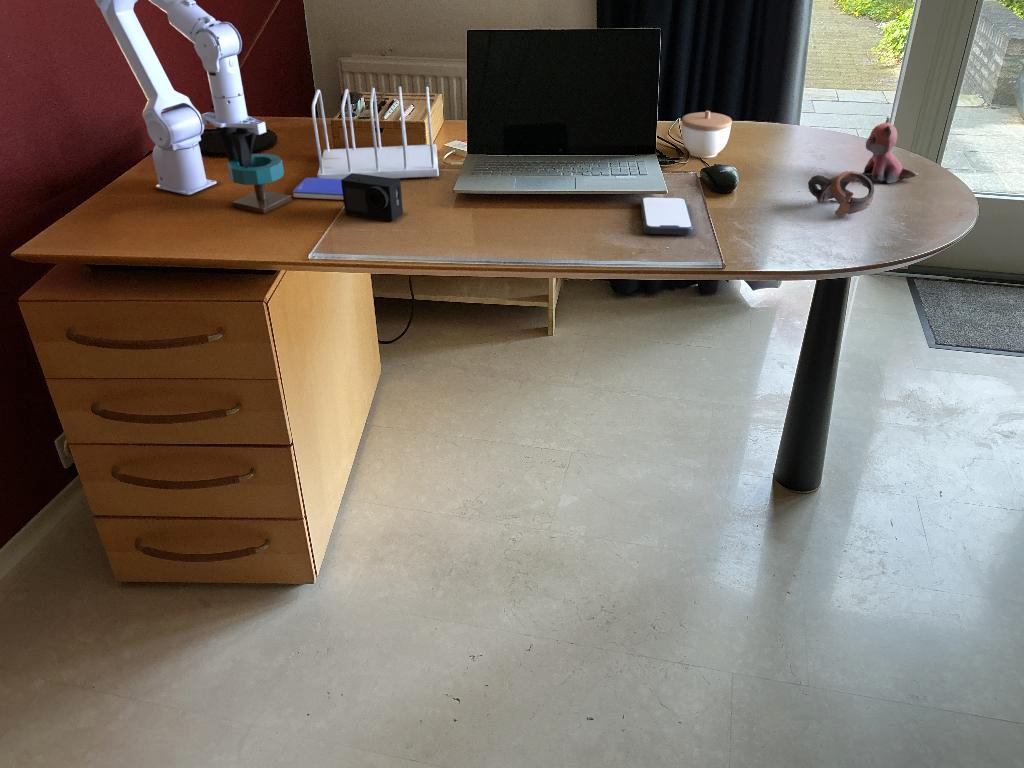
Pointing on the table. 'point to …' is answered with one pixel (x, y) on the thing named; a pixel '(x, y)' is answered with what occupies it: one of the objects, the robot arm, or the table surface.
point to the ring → (257, 170)
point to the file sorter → (375, 150)
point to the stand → (261, 200)
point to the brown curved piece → (841, 191)
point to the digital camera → (372, 197)
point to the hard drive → (319, 189)
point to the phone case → (666, 216)
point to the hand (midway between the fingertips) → (241, 165)
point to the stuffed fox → (885, 155)
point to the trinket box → (705, 133)
